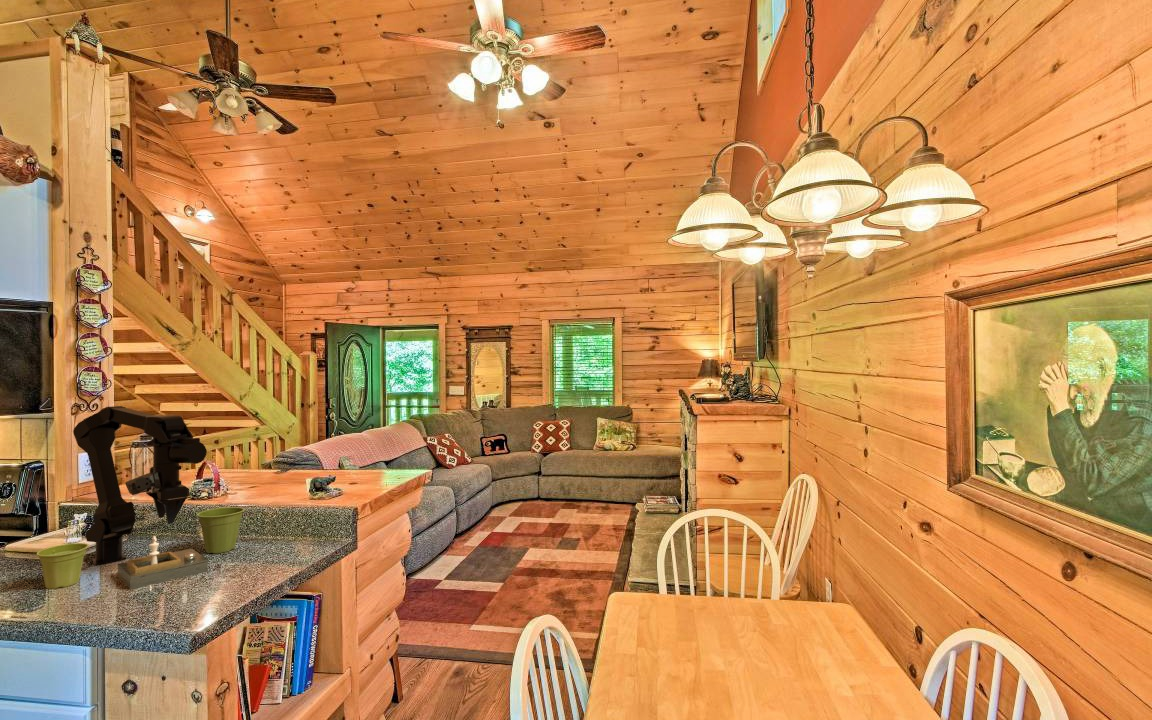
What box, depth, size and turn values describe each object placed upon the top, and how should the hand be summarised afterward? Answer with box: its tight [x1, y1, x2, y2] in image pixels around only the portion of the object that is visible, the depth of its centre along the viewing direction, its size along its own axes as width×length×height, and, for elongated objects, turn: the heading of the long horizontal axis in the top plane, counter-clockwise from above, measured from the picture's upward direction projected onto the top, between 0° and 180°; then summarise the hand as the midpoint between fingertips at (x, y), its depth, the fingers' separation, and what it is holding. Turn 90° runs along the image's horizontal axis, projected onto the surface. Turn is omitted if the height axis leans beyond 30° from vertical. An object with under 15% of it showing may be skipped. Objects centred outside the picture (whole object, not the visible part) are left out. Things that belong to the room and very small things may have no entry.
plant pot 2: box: [196, 506, 246, 554], centre depth 161 cm, size 12×12×11 cm
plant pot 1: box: [36, 542, 90, 590], centre depth 135 cm, size 9×9×9 cm
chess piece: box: [148, 535, 160, 565], centre depth 141 cm, size 5×5×10 cm
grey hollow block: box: [117, 548, 209, 590], centre depth 142 cm, size 14×16×5 cm
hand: (165, 520), depth 149 cm, fingers open, 9 cm apart
